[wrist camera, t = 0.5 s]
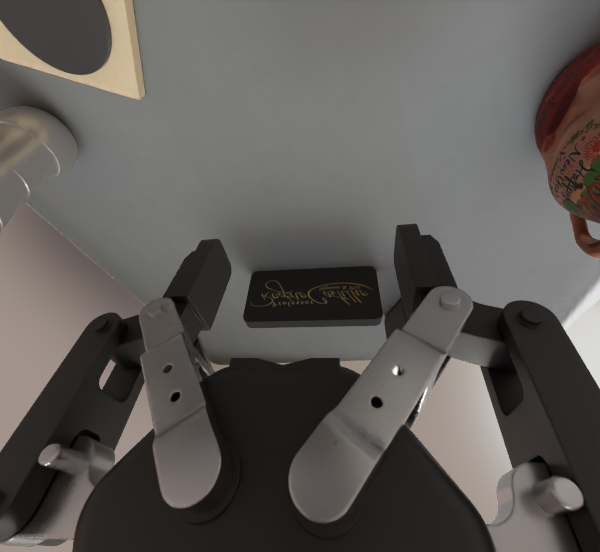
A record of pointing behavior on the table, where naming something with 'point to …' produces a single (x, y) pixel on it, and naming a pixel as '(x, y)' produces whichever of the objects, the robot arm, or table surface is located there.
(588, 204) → the animal head mug
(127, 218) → the table surface
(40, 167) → the silver bottle
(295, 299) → the nameplate
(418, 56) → the table surface
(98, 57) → the hob
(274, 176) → the table surface
